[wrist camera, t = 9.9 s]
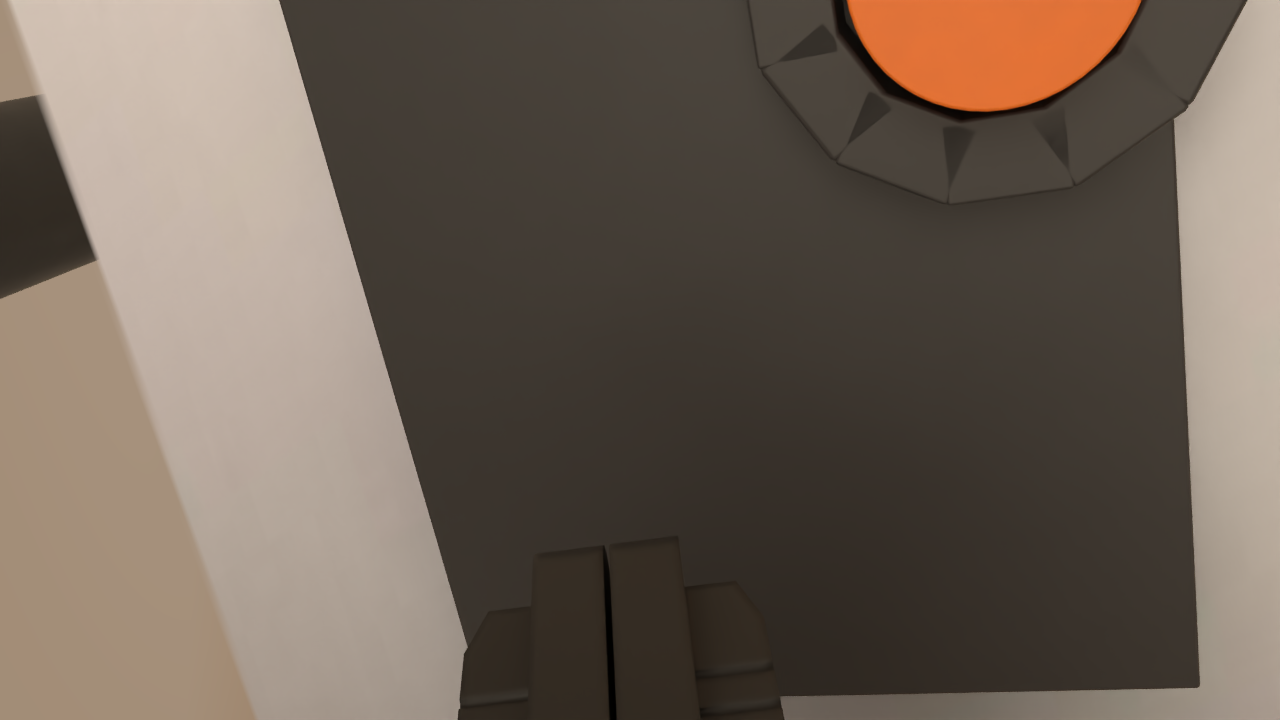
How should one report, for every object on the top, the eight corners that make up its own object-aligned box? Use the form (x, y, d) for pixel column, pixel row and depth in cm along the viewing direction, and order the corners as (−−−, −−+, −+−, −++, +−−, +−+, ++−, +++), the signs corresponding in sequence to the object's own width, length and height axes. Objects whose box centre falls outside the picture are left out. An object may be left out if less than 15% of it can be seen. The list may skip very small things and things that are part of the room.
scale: (502, 669, 25) (450, 761, 22) (285, -99, 20) (183, -104, 17) (1229, 647, 20) (1277, 758, 18) (1195, -338, 15) (1255, -396, 13)
